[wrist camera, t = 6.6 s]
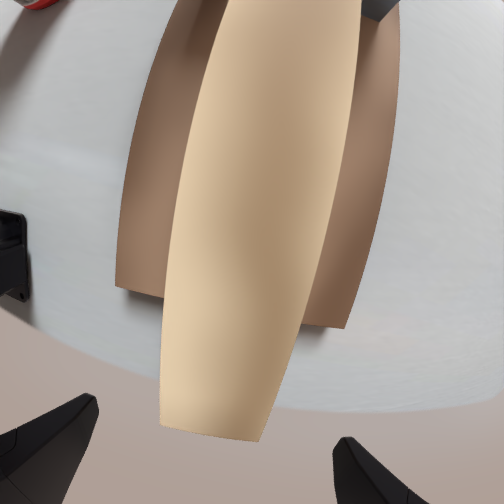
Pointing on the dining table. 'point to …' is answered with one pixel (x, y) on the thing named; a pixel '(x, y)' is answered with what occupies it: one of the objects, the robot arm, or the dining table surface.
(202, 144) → the beech bar
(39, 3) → the canned food
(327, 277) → the track
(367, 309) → the dining table surface
